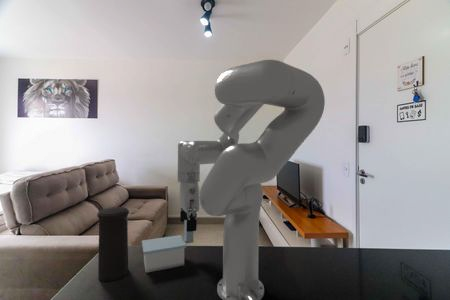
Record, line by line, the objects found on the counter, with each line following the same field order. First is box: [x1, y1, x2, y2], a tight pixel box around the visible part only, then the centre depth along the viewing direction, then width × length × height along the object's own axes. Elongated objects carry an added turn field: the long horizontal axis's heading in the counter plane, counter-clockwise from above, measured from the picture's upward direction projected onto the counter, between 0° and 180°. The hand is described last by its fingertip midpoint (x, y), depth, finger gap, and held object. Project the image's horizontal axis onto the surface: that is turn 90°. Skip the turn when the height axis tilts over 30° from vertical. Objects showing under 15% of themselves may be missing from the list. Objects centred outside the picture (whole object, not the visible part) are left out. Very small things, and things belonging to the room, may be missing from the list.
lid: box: [141, 220, 194, 256], centre depth 79 cm, size 9×16×8 cm, turn 113°
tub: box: [143, 248, 185, 273], centre depth 78 cm, size 8×12×6 cm, turn 113°
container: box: [96, 206, 130, 282], centre depth 71 cm, size 9×9×20 cm
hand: (187, 225), depth 82 cm, fingers open, 9 cm apart
